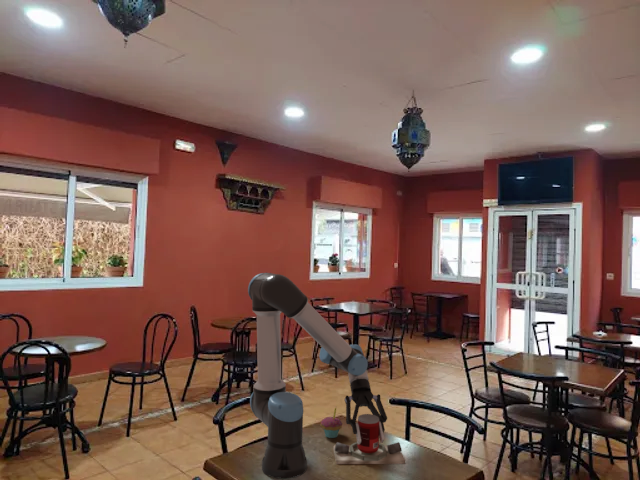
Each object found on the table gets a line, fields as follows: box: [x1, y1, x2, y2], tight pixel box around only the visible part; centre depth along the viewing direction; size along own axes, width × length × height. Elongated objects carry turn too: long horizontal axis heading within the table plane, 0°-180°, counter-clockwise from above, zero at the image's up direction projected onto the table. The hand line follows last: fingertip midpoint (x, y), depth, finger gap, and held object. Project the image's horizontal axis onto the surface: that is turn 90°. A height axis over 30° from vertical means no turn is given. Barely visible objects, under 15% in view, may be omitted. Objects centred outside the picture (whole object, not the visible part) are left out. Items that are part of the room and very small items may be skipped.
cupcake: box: [320, 407, 343, 439], centre depth 176 cm, size 9×8×12 cm
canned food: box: [357, 413, 380, 453], centre depth 159 cm, size 8×8×11 cm
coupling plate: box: [333, 441, 406, 465], centre depth 159 cm, size 24×13×5 cm, turn 93°
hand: (371, 442), depth 156 cm, fingers closed on canned food, 8 cm apart
